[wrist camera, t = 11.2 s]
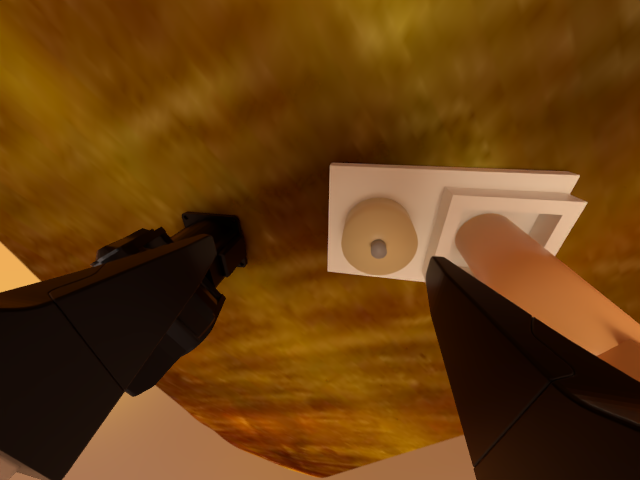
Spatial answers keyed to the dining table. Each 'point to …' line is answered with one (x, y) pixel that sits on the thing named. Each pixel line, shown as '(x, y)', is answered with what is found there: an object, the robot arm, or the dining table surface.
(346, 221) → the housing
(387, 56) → the dining table surface
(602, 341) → the orange square-topped peg
